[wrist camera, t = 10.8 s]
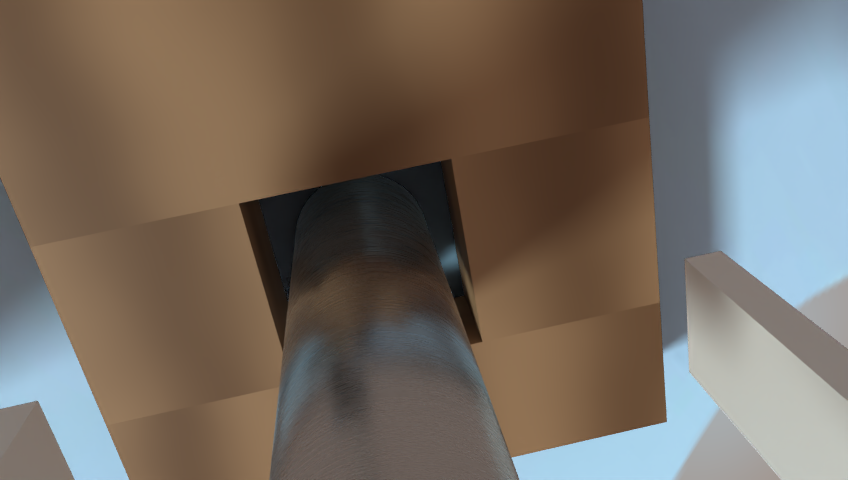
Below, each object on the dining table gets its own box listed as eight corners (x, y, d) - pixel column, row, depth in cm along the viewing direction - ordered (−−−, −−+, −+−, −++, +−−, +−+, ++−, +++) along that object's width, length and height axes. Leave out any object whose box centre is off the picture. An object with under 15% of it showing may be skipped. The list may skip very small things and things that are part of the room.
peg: (312, 307, 23) (296, 764, 10) (281, 189, 22) (213, 552, 9) (436, 279, 23) (574, 696, 10) (413, 160, 22) (541, 476, 9)
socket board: (174, 473, 25) (155, 539, 22) (-133, -303, 16) (-228, -354, 13) (629, 369, 25) (666, 421, 23) (566, -424, 17) (613, -496, 14)
